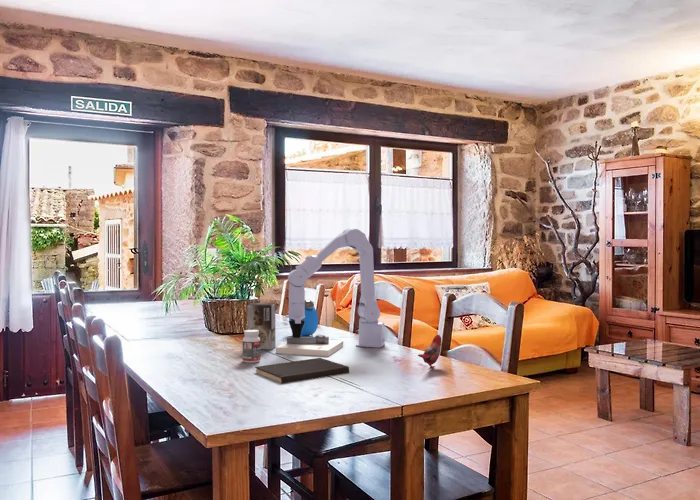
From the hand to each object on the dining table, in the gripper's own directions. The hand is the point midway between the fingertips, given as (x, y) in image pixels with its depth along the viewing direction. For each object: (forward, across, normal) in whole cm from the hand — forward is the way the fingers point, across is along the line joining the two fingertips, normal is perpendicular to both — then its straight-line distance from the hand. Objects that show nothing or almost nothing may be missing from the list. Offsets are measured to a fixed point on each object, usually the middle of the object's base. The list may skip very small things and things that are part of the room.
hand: (296, 340), depth 211 cm
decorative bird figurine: (+3, +40, +38) cm, 55 cm away
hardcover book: (+3, +38, -1) cm, 38 cm away
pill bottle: (+3, +20, -16) cm, 26 cm away
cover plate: (+3, +3, +5) cm, 6 cm away
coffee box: (+3, -2, -12) cm, 13 cm away
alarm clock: (+3, -26, +4) cm, 26 cm away
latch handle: (+1, +2, +4) cm, 4 cm away
